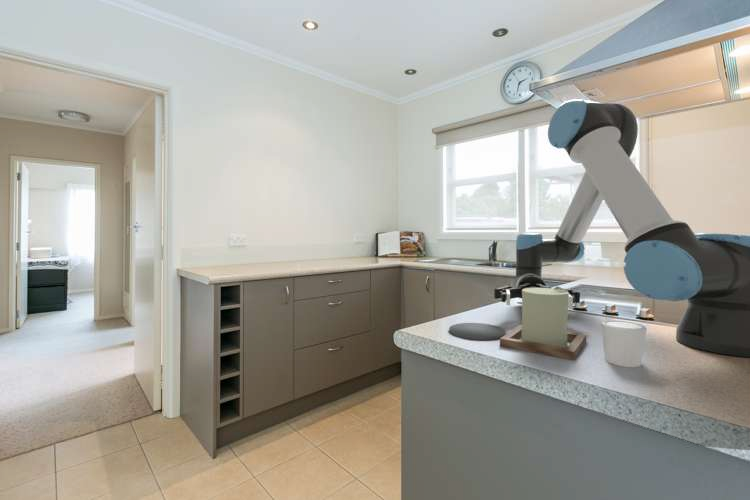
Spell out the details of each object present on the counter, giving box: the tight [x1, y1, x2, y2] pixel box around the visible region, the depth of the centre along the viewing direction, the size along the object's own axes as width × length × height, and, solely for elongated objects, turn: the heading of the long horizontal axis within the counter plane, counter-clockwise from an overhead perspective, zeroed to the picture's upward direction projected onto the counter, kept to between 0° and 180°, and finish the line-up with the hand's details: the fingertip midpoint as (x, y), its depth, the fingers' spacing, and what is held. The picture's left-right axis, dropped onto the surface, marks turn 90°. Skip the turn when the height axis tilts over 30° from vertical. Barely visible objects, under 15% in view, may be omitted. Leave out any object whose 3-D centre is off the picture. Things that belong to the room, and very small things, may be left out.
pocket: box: [499, 324, 587, 361], centre depth 79 cm, size 14×14×2 cm
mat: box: [448, 322, 507, 341], centre depth 88 cm, size 13×13×1 cm
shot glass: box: [601, 320, 648, 368], centre depth 68 cm, size 7×7×7 cm
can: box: [520, 287, 569, 348], centre depth 79 cm, size 9×9×12 cm
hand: (539, 301), depth 87 cm, fingers open, 13 cm apart
